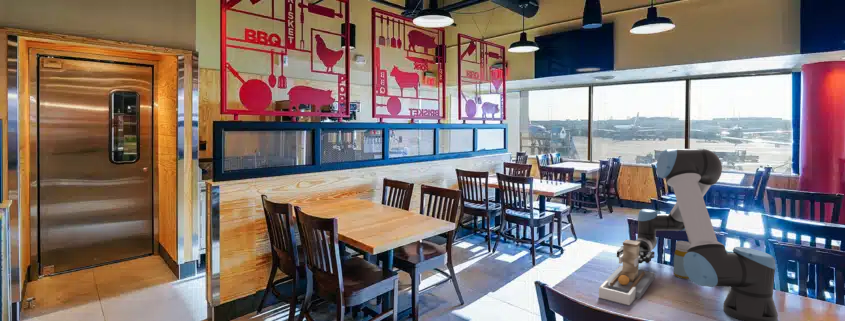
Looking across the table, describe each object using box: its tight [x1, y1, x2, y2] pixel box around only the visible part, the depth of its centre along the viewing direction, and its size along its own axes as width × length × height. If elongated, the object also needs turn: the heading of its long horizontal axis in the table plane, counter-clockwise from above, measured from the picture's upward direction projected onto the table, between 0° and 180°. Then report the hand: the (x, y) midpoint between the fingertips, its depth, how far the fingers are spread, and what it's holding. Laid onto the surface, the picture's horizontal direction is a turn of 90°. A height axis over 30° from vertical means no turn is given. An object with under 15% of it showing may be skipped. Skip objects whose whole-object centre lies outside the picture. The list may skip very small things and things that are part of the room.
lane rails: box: [610, 270, 645, 290], centre depth 173 cm, size 8×21×1 cm, turn 140°
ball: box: [618, 275, 629, 285], centre depth 168 cm, size 4×4×4 cm
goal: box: [598, 280, 637, 307], centre depth 162 cm, size 11×9×4 cm
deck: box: [601, 265, 656, 300], centre depth 175 cm, size 14×26×2 cm, turn 140°
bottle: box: [672, 240, 690, 280], centre depth 182 cm, size 7×7×15 cm
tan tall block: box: [620, 239, 640, 282], centre depth 174 cm, size 5×8×15 cm, turn 140°
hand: (627, 261), depth 171 cm, fingers open, 5 cm apart
